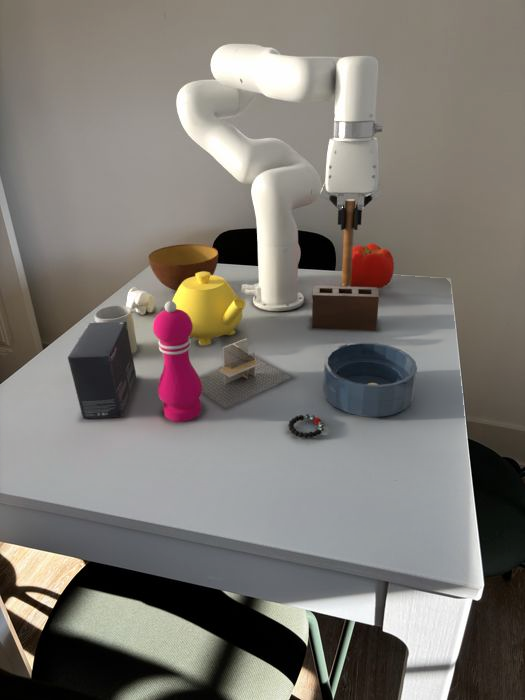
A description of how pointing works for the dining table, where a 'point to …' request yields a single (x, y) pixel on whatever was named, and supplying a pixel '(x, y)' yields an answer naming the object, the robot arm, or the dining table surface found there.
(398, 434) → the dining table surface
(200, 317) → the teapot
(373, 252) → the red bell pepper
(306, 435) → the bracelet
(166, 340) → the pepper mill
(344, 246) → the stick
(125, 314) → the cup
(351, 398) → the mixing bowl
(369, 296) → the rack
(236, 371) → the napkin holder
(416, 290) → the dining table surface
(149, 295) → the elephant figurine
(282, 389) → the dining table surface
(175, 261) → the bowl
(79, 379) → the small box
